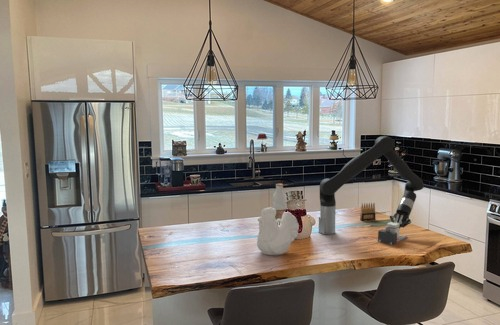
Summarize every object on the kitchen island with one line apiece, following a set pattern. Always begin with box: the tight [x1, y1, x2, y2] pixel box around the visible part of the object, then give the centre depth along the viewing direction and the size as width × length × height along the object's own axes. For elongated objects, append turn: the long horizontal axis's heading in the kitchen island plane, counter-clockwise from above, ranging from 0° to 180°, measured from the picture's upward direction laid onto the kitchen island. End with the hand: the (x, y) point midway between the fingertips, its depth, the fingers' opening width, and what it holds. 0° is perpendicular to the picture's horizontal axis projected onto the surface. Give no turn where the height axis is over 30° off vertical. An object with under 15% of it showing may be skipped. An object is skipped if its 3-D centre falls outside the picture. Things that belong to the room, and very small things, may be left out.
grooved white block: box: [386, 221, 400, 238], centre depth 224 cm, size 5×5×9 cm
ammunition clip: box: [359, 202, 376, 222], centre depth 272 cm, size 11×2×12 cm, turn 104°
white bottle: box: [271, 183, 288, 225], centre depth 257 cm, size 9×9×28 cm
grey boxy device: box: [377, 225, 408, 246], centre depth 224 cm, size 18×9×10 cm, turn 134°
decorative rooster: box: [256, 207, 300, 256], centre depth 208 cm, size 25×16×25 cm, turn 108°
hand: (395, 231), depth 226 cm, fingers closed
